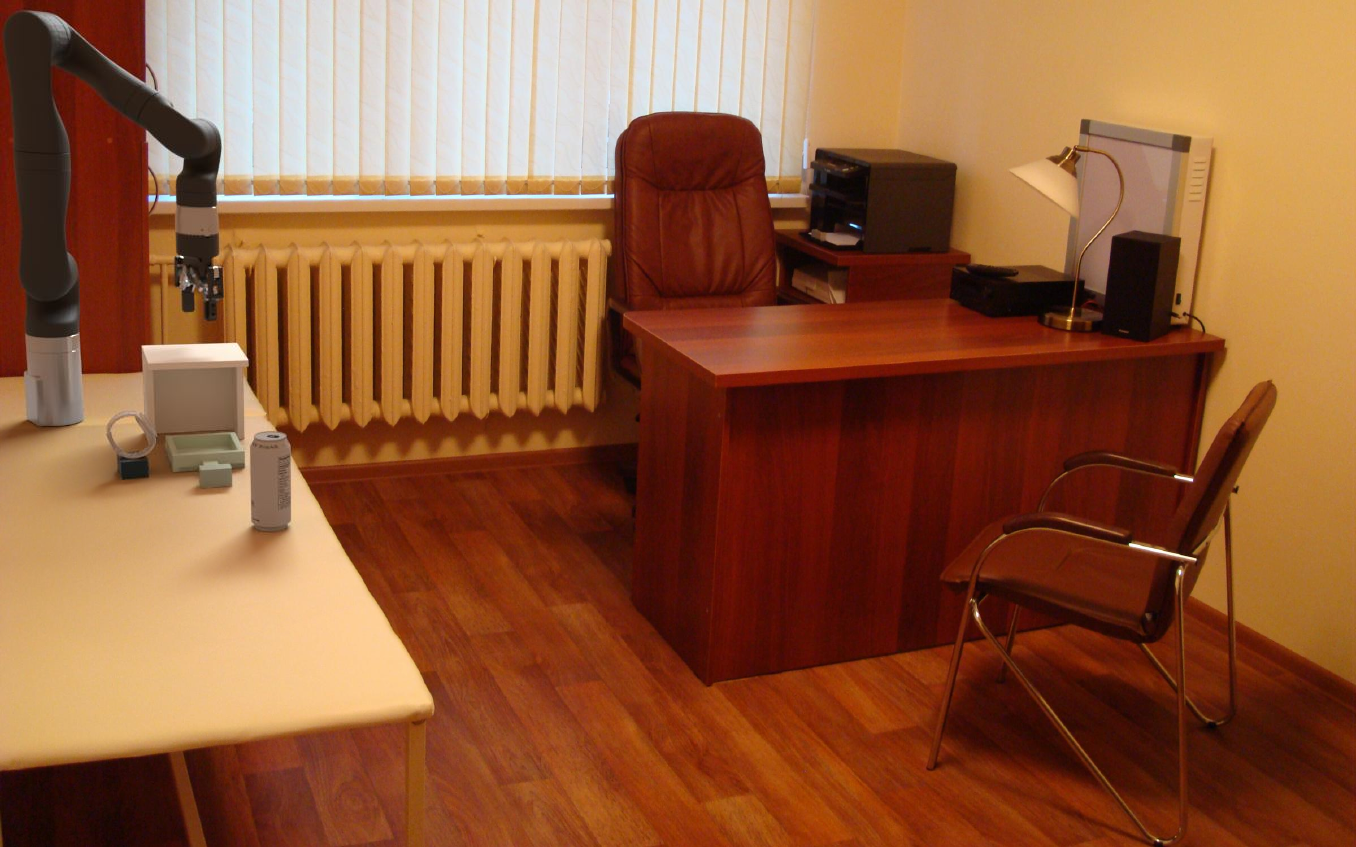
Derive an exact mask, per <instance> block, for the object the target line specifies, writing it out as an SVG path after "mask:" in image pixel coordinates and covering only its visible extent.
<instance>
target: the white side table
mask: <svg viewBox="0 0 1356 847" xmlns="http://www.w3.org/2000/svg"><path fill="white" fill-rule="evenodd" d="M141 359H142V360H141V362H142V364H141V365H142V367H141V368H142V386H143V387H142V388H143V412H144V413H143V414H144V416H145V417H146V418H147V419H148V421H149V422H150V424H151V425H152V427H153V428H154V430H155V431H156V433H157V434H169V433H170V434H171V433H173V434H175V433H190V432H192V433H193V432H205V431H206V432H207V431H208V432H209V431H224V430H225V431H227V430H228V431H229V430H232V431H233V432H235V433H236V435H237V437H238V439H239V440H241V439H242V440H243V439H245V437H246V436H245V395H244V394H245V388H244V383H245V382H244V368H246V367H249V364H250V363H249V359H248V357H247V356H246V354H245V353H244V351H243V349H241V347H240V345H239V343H238V342H229V343H228V342H227V343H226V342H225V343H224V342H223V343H193V344H192V343H190V344H189V343H187V344H183V343H182V344H151V345H150V344H148V345H141ZM145 437H146V440H147V443H148V445H149V443H150V441H151V439H150V438H148V437H147V435H146V434H145ZM156 444H157V442H156V443H155V445H156Z"/></svg>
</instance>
